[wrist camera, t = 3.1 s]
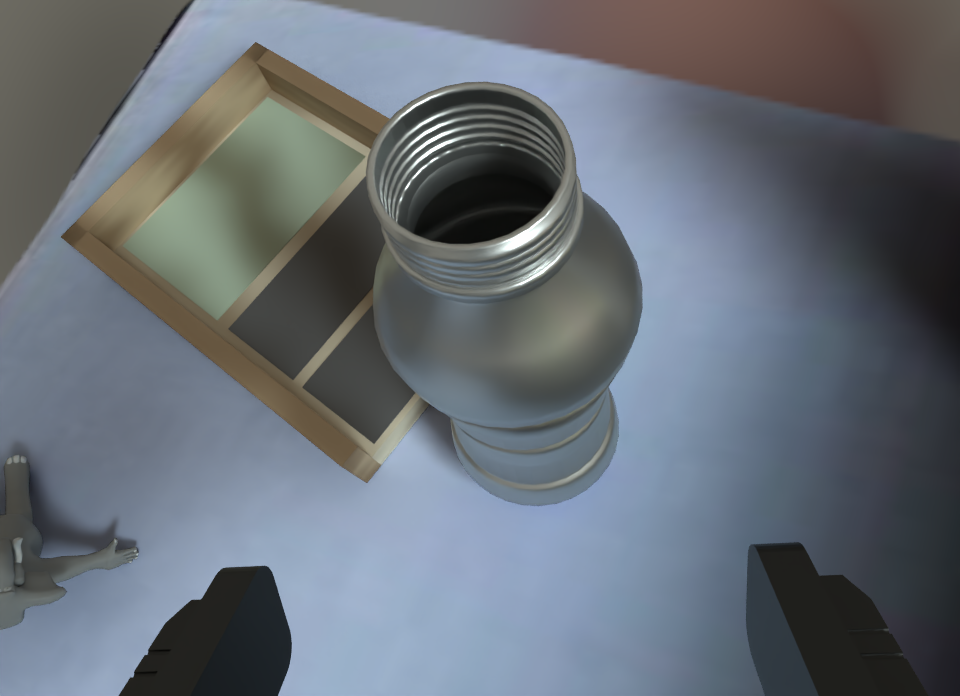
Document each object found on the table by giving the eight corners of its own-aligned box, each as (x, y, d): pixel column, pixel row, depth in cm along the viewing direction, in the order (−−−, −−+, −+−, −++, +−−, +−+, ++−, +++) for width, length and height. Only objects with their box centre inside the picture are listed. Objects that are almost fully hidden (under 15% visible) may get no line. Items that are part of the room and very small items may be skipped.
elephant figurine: (119, 410, 34) (152, 547, 28) (114, 500, 37) (143, 642, 31) (-154, 433, 29) (-186, 610, 22) (-136, 537, 31) (-160, 720, 25)
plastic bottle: (476, 362, 32) (329, 15, 14) (625, 380, 31) (681, 23, 13) (449, 502, 30) (234, 310, 12) (608, 527, 29) (647, 356, 10)
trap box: (366, 483, 31) (341, 466, 28) (106, 270, 37) (60, 236, 34) (552, 249, 34) (549, 210, 31) (282, 88, 40) (255, 42, 37)
